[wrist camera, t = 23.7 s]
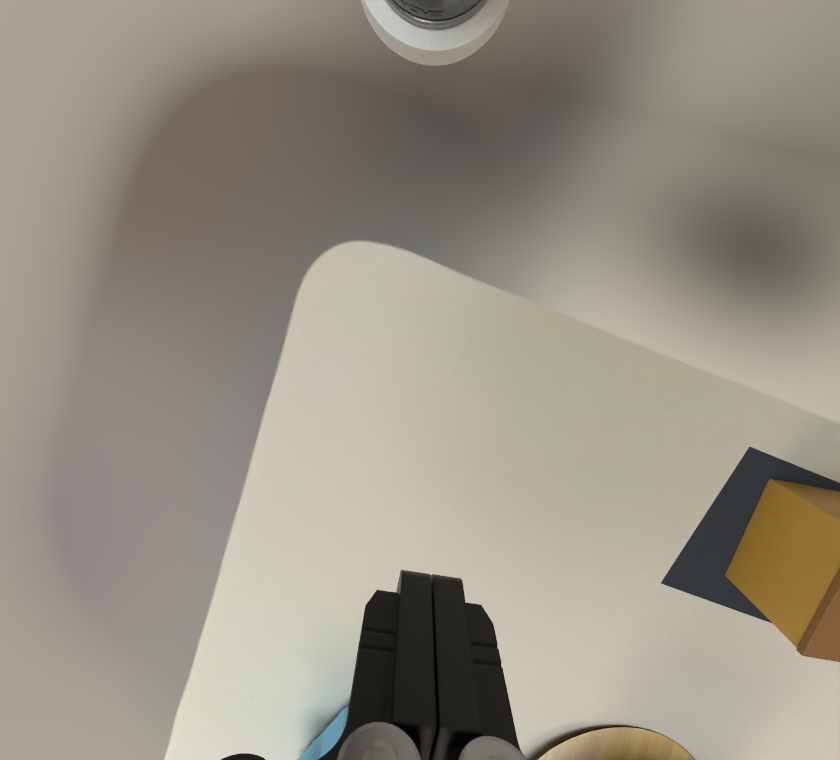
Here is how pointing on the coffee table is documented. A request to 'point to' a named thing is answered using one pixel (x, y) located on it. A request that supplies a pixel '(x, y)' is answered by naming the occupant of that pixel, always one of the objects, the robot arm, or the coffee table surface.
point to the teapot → (326, 738)
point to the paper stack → (618, 746)
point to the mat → (732, 530)
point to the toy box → (794, 565)
